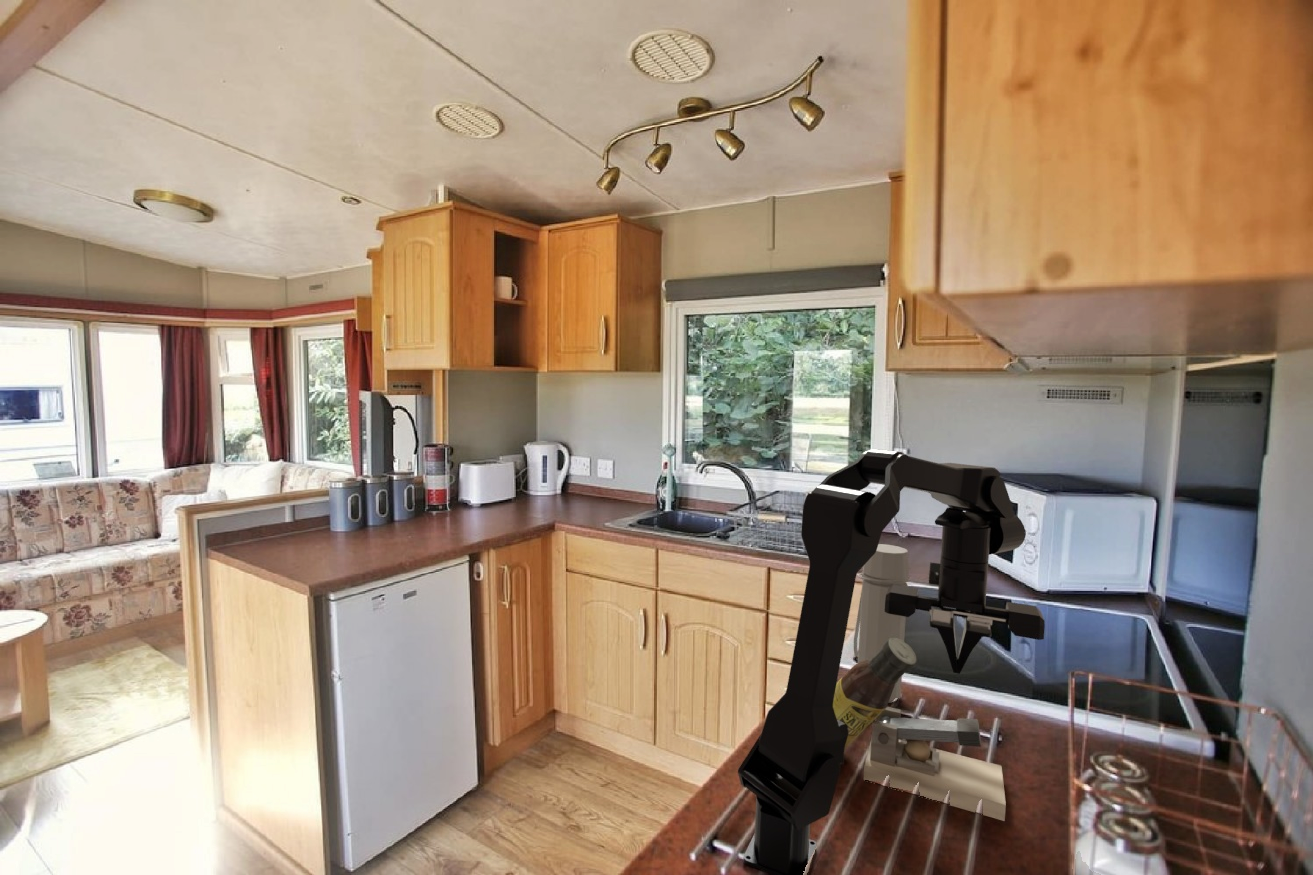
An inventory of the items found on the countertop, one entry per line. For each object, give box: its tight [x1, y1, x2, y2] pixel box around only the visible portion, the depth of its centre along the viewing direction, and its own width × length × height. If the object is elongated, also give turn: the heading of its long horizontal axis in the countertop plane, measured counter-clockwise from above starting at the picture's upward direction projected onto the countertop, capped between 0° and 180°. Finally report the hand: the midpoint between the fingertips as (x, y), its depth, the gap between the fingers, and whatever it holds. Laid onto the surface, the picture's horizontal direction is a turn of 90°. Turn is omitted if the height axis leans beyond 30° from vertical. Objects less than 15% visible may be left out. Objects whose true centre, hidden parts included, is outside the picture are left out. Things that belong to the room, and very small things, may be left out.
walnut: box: [905, 739, 930, 762], centre depth 81 cm, size 3×3×3 cm
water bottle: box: [853, 543, 910, 704], centre depth 104 cm, size 9×8×25 cm
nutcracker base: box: [863, 706, 1007, 822], centre depth 81 cm, size 9×16×7 cm, turn 64°
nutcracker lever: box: [880, 716, 982, 748], centre depth 81 cm, size 4×12×2 cm, turn 64°
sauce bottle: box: [833, 638, 917, 751], centre depth 82 cm, size 7×6×20 cm
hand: (956, 672), depth 84 cm, fingers closed
